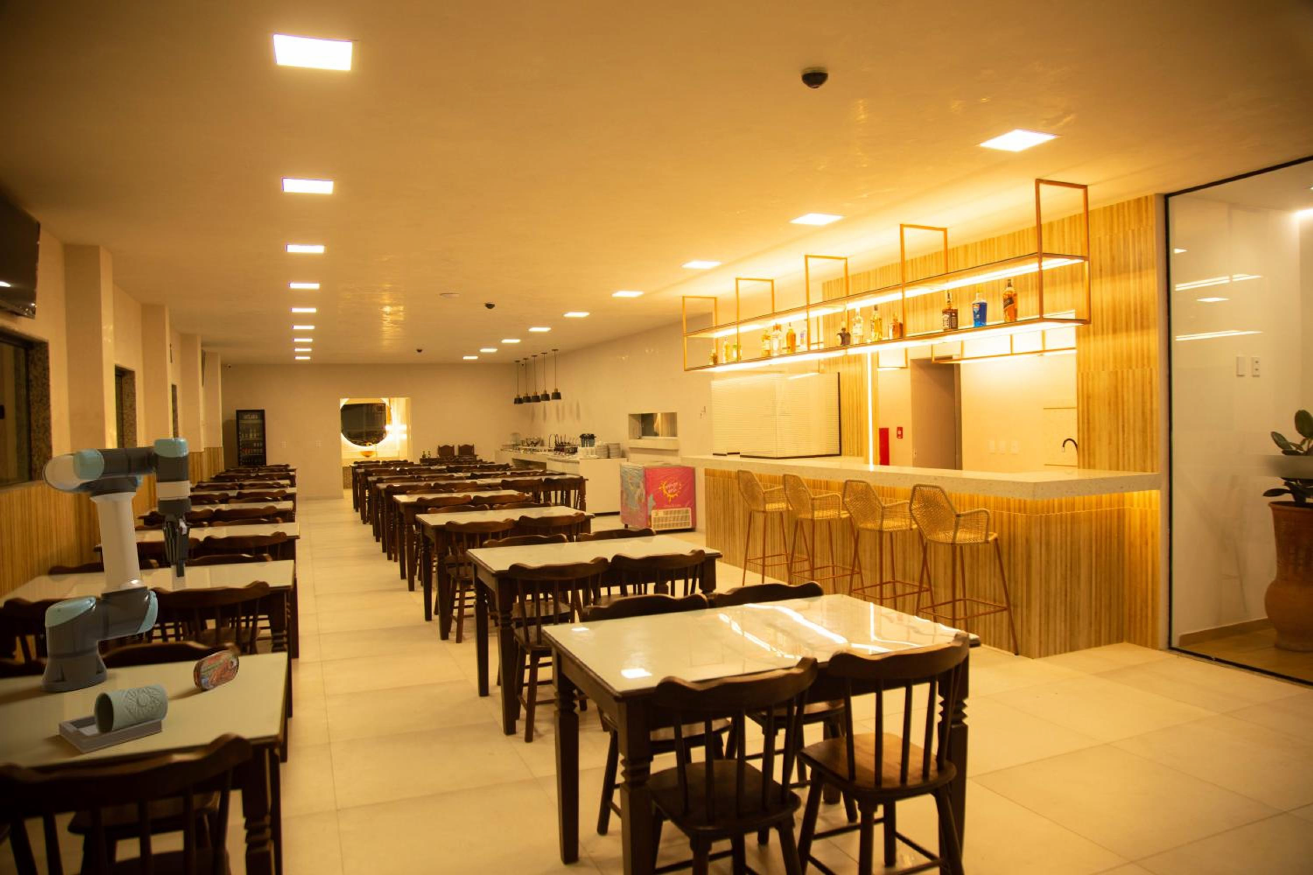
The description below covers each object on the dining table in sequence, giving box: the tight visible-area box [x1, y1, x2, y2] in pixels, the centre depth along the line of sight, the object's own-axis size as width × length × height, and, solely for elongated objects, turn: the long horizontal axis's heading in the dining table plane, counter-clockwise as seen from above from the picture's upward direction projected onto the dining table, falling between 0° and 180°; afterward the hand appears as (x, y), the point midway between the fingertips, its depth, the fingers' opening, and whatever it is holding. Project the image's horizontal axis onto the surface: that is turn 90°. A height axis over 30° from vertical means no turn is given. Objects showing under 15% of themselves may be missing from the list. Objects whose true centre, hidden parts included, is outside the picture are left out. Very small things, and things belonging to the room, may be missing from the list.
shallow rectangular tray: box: [58, 713, 163, 754], centre depth 197 cm, size 19×16×3 cm
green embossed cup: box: [93, 683, 169, 735], centre depth 197 cm, size 10×10×12 cm
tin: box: [192, 649, 240, 690], centre depth 231 cm, size 15×3×8 cm, turn 168°
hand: (179, 589), depth 219 cm, fingers closed
